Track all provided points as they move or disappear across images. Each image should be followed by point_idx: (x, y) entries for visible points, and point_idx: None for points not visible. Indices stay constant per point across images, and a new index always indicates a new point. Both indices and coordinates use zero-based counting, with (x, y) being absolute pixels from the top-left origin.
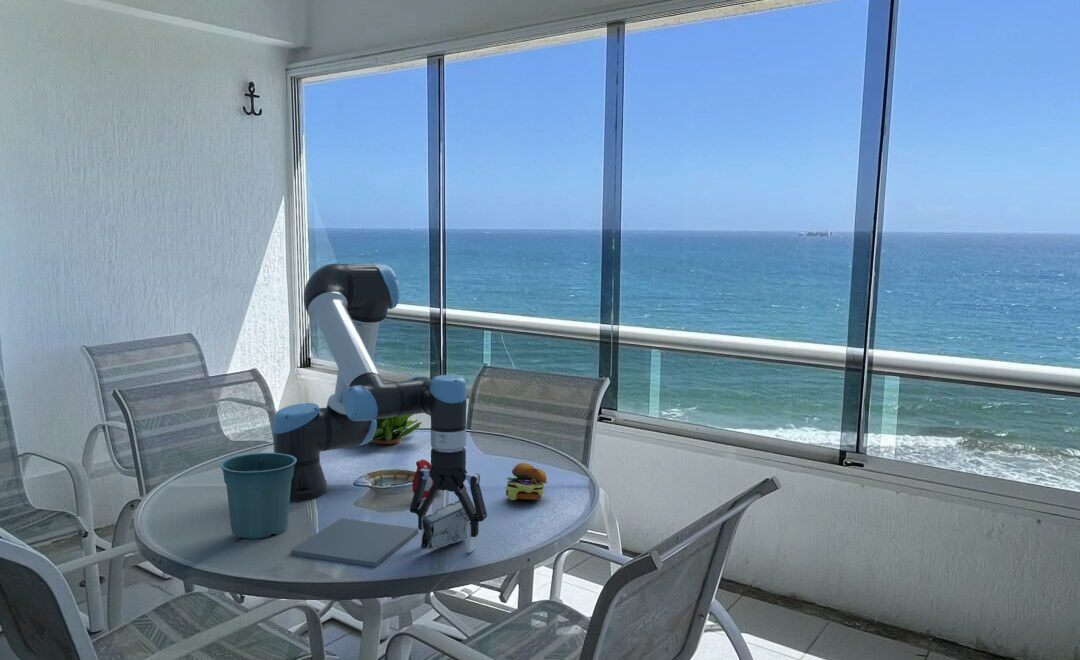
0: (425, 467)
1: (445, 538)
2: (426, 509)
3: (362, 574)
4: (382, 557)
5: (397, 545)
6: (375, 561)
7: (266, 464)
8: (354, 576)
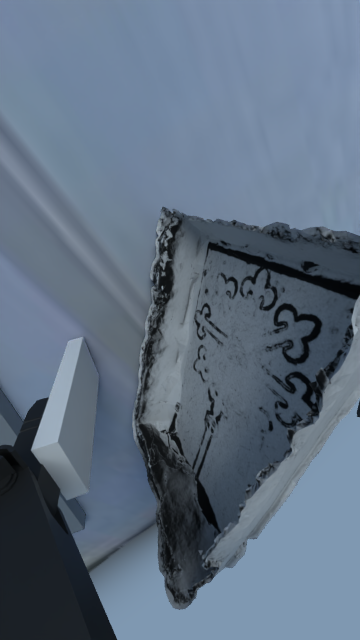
0: None
1: (196, 385)
2: (64, 531)
3: (90, 539)
4: (70, 508)
5: None
6: (77, 527)
7: None
8: (83, 551)
